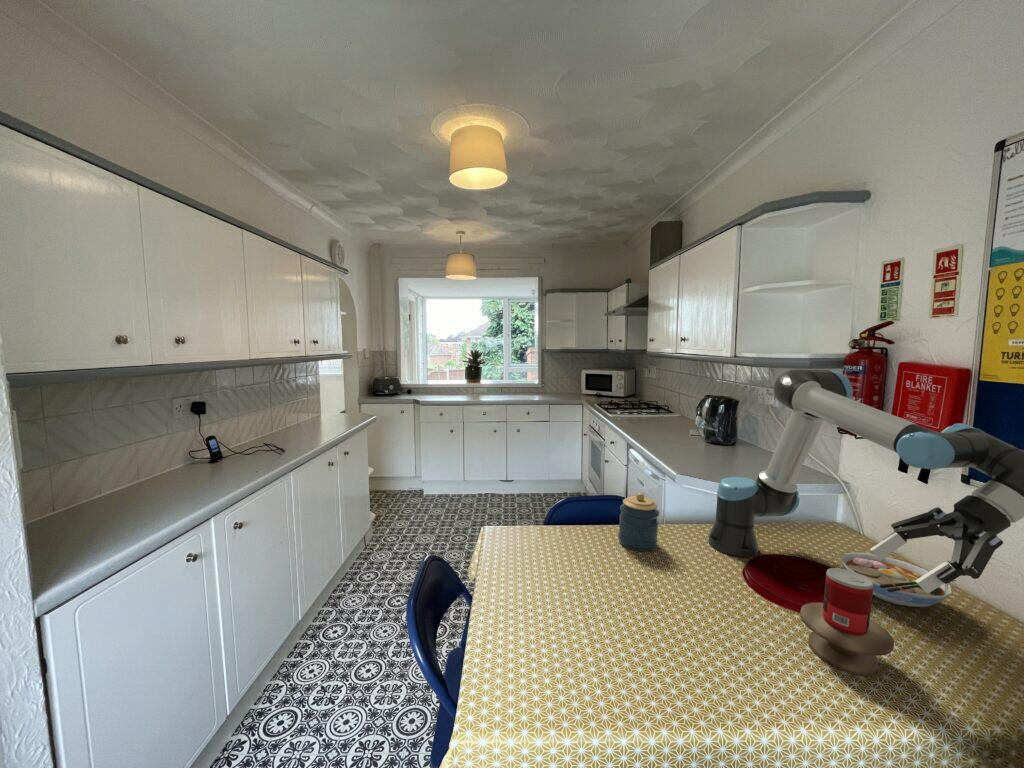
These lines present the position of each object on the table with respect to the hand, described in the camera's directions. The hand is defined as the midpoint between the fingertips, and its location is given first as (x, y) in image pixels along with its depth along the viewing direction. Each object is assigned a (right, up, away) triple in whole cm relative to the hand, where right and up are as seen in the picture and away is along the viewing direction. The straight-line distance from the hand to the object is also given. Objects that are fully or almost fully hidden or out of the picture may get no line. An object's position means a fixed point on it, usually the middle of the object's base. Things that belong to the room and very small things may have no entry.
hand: (896, 569), depth 88 cm
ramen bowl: (+23, -20, +27) cm, 41 cm away
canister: (-39, -16, +55) cm, 69 cm away
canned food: (-9, -14, +3) cm, 16 cm away
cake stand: (-9, -20, +4) cm, 23 cm away
